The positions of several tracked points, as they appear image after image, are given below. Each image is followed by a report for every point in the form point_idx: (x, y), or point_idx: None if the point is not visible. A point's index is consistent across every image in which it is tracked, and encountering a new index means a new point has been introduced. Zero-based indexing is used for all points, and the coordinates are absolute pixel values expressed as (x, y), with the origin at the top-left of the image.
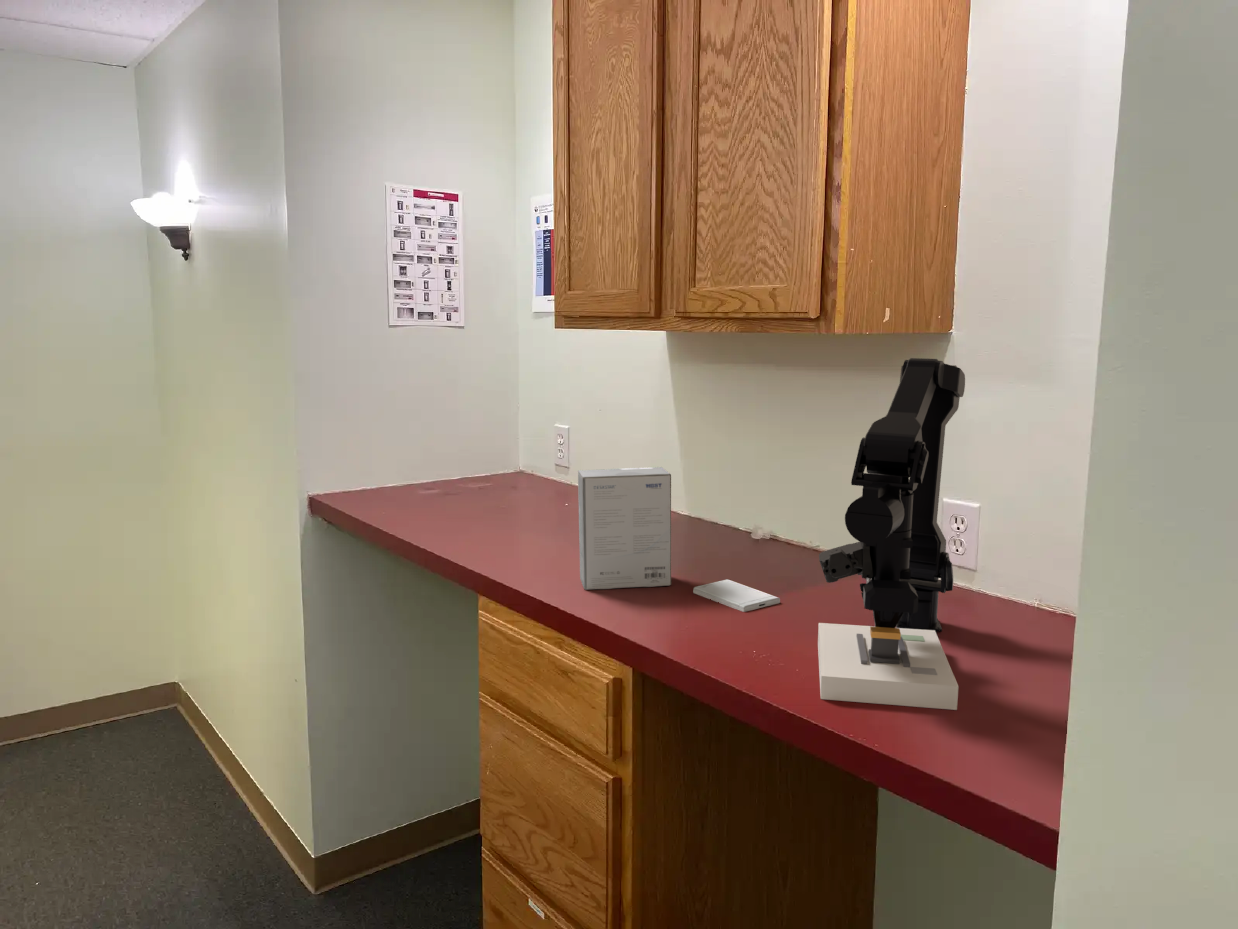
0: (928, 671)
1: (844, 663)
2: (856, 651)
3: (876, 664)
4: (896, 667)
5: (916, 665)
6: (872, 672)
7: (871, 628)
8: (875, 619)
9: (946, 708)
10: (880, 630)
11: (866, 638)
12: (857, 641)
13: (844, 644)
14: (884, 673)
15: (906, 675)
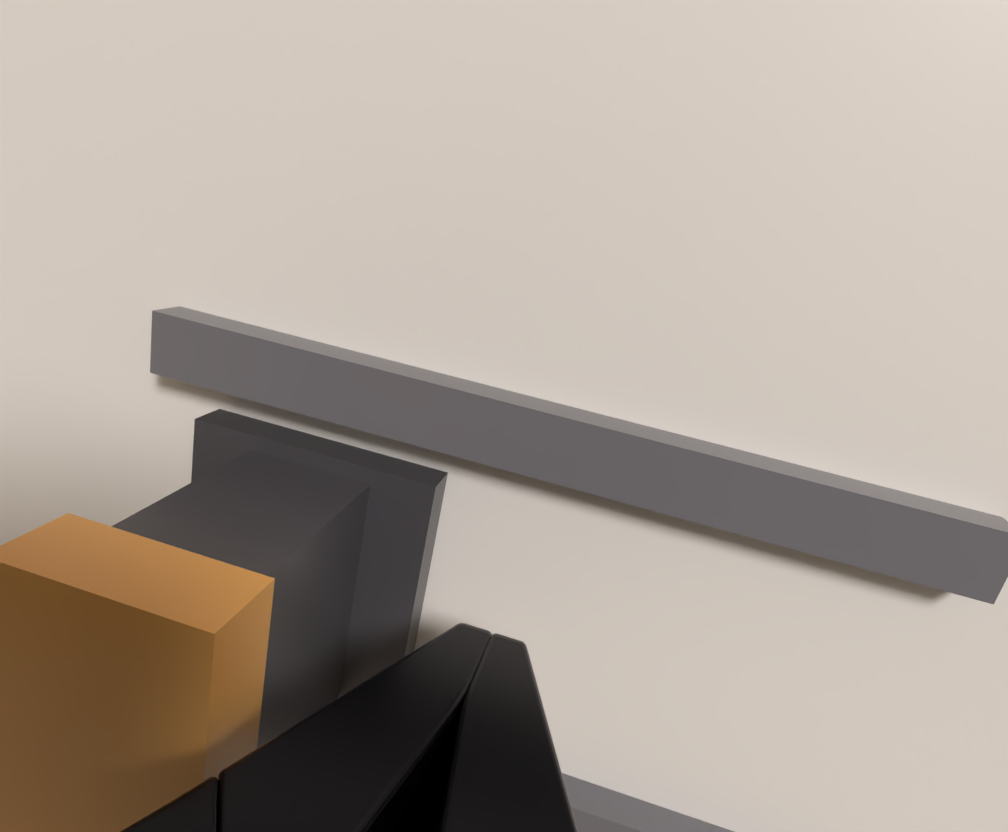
0: None
1: (168, 134)
2: (511, 365)
3: (186, 446)
4: None
5: None
6: (11, 349)
7: (126, 616)
8: (151, 819)
9: None
10: (54, 707)
11: (925, 612)
12: (781, 466)
13: (746, 289)
14: (13, 442)
15: None
